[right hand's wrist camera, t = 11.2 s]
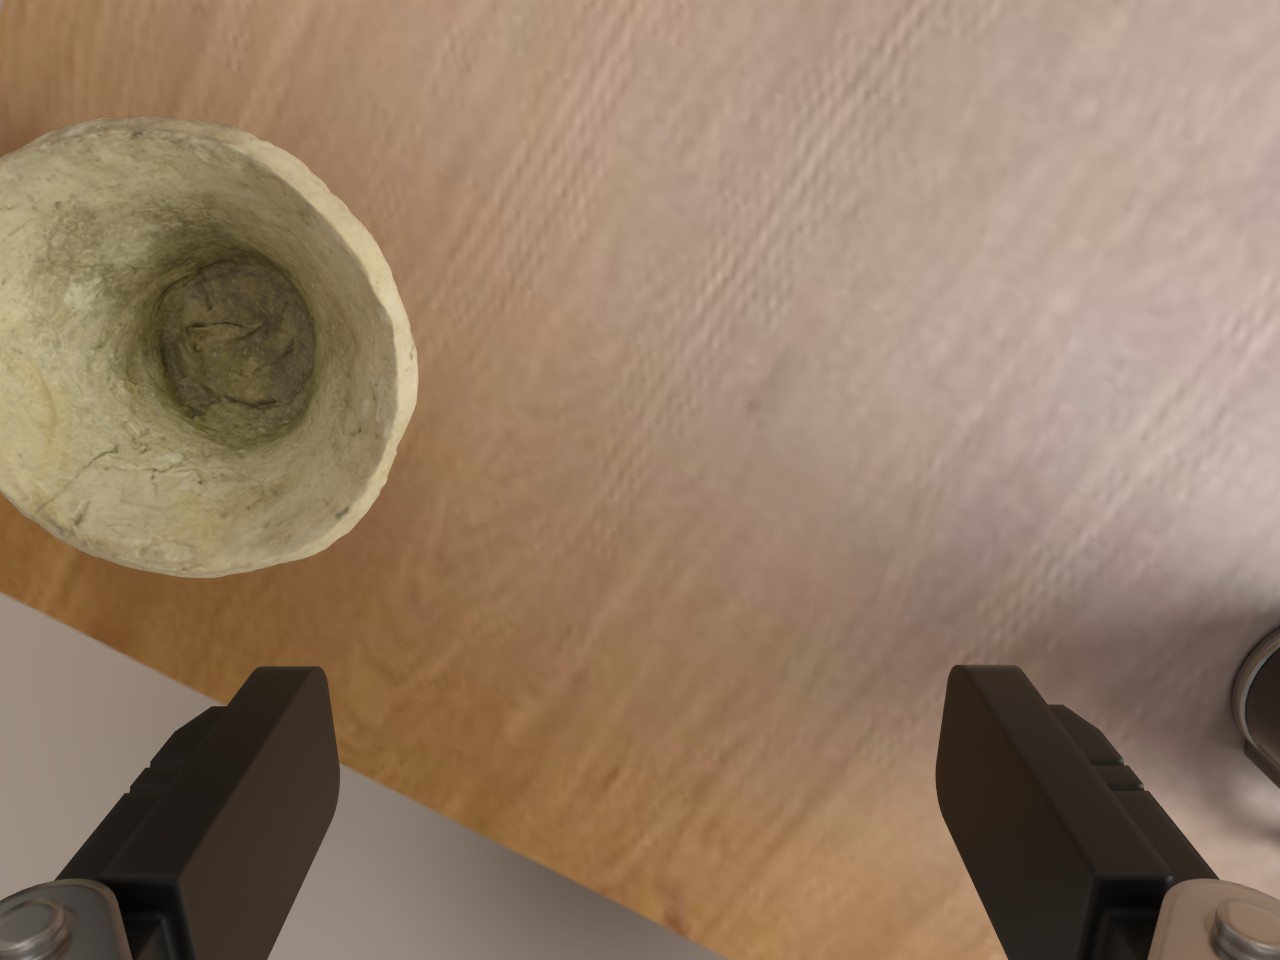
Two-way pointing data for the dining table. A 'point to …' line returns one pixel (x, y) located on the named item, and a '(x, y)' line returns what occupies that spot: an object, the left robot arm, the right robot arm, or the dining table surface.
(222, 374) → the bowl
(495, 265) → the dining table surface
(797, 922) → the dining table surface
